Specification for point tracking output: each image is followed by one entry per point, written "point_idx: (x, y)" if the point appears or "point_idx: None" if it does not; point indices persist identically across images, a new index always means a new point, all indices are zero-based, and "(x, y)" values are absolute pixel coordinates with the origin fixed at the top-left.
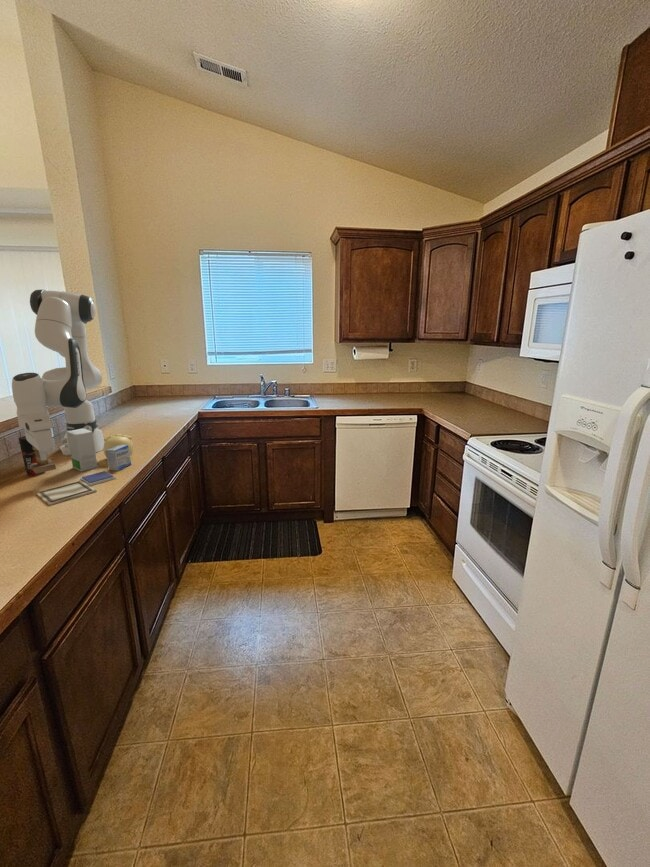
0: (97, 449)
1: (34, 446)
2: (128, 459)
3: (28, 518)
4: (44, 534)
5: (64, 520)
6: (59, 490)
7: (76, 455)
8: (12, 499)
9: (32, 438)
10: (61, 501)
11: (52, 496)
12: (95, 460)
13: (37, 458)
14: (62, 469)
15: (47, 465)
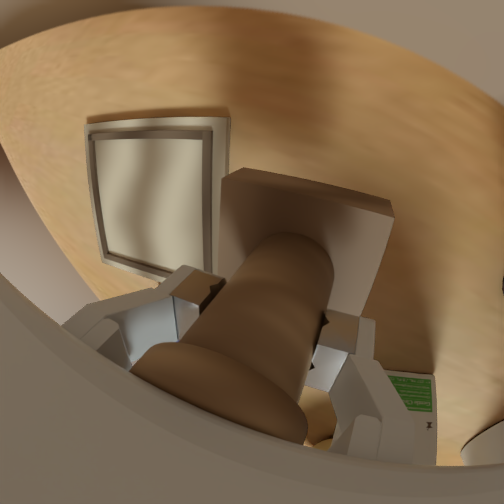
0: (464, 454)
1: (80, 367)
2: None
3: (61, 66)
4: (9, 94)
5: (23, 133)
6: (171, 196)
7: None
8: (258, 26)
9: (16, 492)
10: (89, 160)
11: (129, 152)
12: (336, 424)
13: (246, 272)
14: (463, 349)
15: (223, 268)
